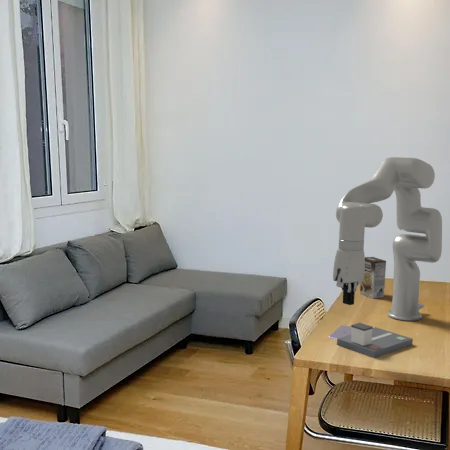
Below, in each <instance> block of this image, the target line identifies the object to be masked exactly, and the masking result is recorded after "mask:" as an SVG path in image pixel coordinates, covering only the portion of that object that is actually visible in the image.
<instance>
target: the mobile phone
mask: <svg viewBox="0 0 450 450" xmlns="http://www.w3.org/2000/svg"><path fill="white" fill-rule="evenodd" d="M351 331H352V327H351V325H345V324H343V325H340V326H339V327H337V328H336V329H335V330H334V331H333V332H331V334H329V336H328V338H329V339H331V340H336V339H337V338H341V337H344V336H347V335H351Z"/></svg>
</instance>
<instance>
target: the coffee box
mask: <svg viewBox="0 0 450 450" xmlns="http://www.w3.org/2000/svg"><path fill="white" fill-rule="evenodd" d="M386 266H387V260H385V259H381V258H378V257H375V256H365V274H364V279H363V280H362V283H360V284H359V285H360V286H359V288H360V289H359V293H360V294H361V295H363V296H366V297H368V298H370V299H371V298H372V299H379V298H384V297H385V288H386V287H385V283H386V270H387V269H386V268H387V267H386Z"/></svg>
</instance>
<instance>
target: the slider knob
mask: <svg viewBox="0 0 450 450" xmlns="http://www.w3.org/2000/svg"><path fill="white" fill-rule="evenodd" d="M350 326H351V327H352V331H351V342H354V343H357V344H360V345H362V346H365V345H368V344H371V343H372V329H373V328H374V327H373V326H372V325H368V324H365V323H362V322H357V323H354V324H350Z"/></svg>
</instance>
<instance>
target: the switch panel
mask: <svg viewBox="0 0 450 450" xmlns="http://www.w3.org/2000/svg"><path fill="white" fill-rule="evenodd" d="M413 339H414V338H411V337H408V336H405V335H402V334H400V333H395V332H392V331H388V330H386V329H382V328H379V327H376V326H374V327H373V329H372V343H371V344H368V345H365V346H362V345H360V344H357V343H354V342H351V335H347V336H344V337H341V338H337V340H336V345H337V346H339V347H343V348H346V349H349V350H351V351H354V352H357V353H361V354H362V355H365V356H368V357H371V358H373V359H375V358H378V357H381V356H384V355H387V354H390V353H392V352H394V351H399V350H401V349H404V348H406V347H409V346H412V345H413Z"/></svg>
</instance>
